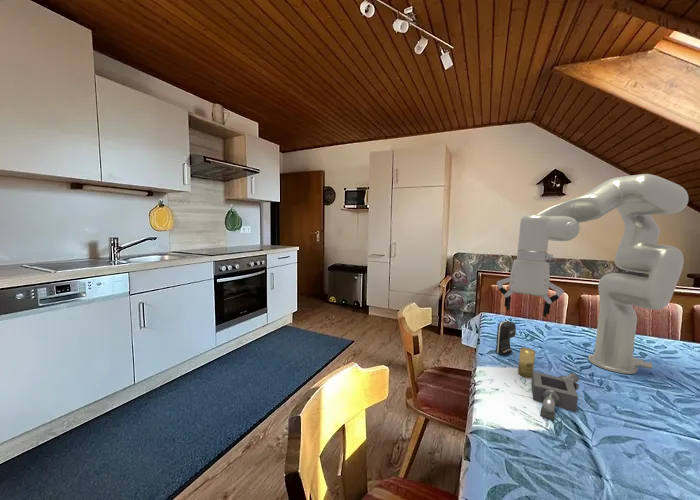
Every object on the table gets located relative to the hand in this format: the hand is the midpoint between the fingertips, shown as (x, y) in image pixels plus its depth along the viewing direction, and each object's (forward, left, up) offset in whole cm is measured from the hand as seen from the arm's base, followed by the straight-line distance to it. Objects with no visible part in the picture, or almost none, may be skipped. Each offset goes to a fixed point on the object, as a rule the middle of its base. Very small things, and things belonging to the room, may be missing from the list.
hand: (525, 312), depth 89 cm
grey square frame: (-7, +9, -20) cm, 23 cm away
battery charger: (+5, -16, -20) cm, 26 cm away
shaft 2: (-12, +2, -20) cm, 23 cm away
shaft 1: (-6, +18, -20) cm, 27 cm away
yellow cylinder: (-1, -1, -20) cm, 20 cm away
